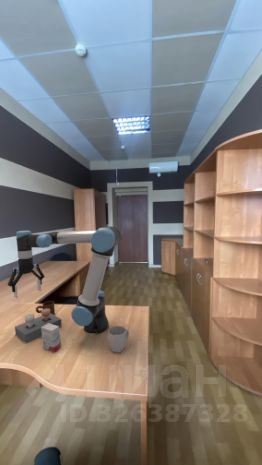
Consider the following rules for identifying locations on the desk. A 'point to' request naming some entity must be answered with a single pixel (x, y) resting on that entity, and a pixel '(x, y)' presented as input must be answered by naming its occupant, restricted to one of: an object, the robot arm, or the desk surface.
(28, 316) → the grey plug
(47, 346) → the ink box
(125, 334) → the mug
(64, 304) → the desk surface
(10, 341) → the desk surface
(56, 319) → the panel
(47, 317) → the terracotta plug
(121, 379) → the desk surface
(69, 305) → the desk surface
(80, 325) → the robot arm
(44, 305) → the mug
